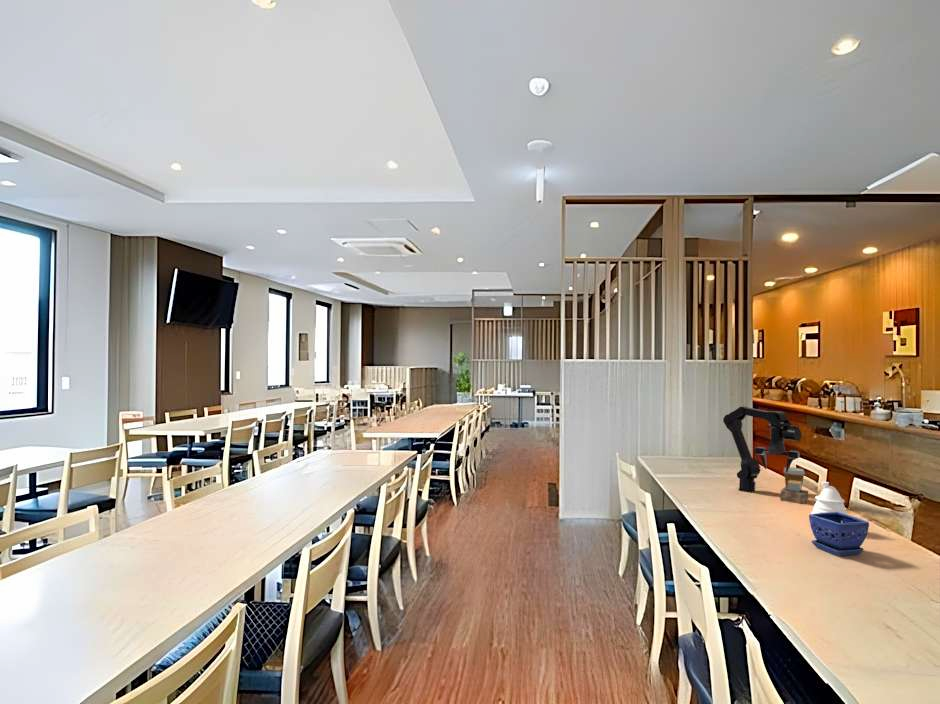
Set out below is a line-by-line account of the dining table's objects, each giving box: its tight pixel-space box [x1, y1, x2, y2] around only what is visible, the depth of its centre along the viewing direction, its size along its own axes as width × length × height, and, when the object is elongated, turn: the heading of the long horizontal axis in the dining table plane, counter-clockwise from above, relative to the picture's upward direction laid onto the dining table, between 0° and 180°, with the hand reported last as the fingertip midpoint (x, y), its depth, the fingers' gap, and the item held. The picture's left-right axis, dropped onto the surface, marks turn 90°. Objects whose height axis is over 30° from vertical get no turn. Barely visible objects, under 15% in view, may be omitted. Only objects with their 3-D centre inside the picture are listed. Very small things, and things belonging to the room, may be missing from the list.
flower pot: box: [808, 512, 870, 557], centre depth 209 cm, size 13×13×12 cm
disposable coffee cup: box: [783, 466, 806, 490], centre depth 295 cm, size 10×10×12 cm
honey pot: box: [810, 480, 848, 523], centre depth 237 cm, size 13×13×18 cm
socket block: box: [780, 486, 809, 505], centre depth 281 cm, size 10×10×4 cm
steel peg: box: [788, 480, 803, 493], centre depth 281 cm, size 5×5×9 cm
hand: (776, 470), depth 285 cm, fingers open, 9 cm apart
